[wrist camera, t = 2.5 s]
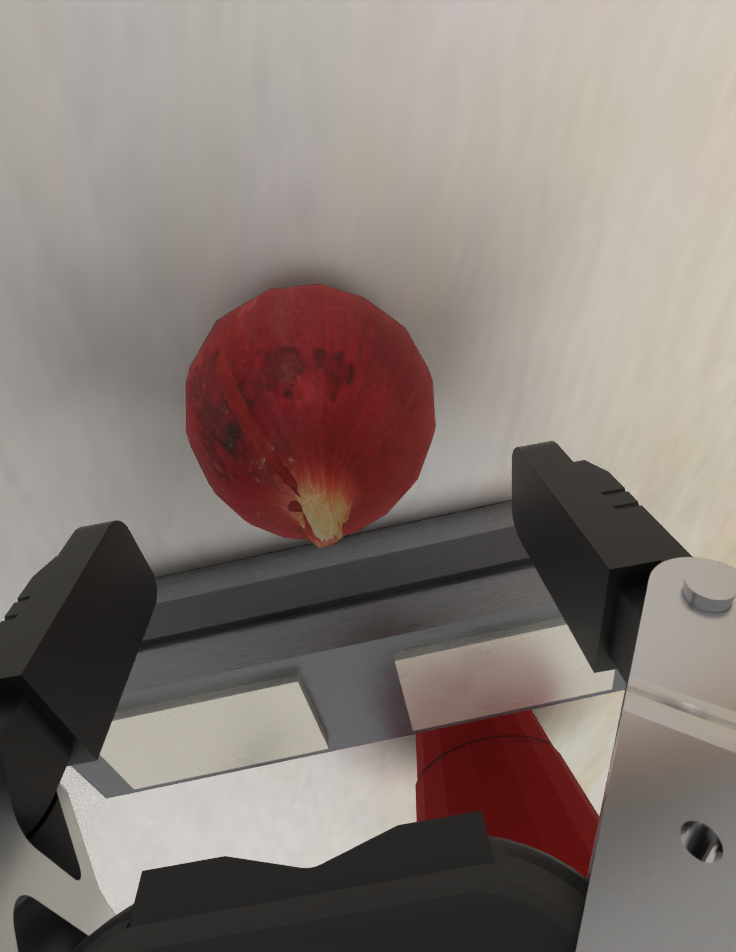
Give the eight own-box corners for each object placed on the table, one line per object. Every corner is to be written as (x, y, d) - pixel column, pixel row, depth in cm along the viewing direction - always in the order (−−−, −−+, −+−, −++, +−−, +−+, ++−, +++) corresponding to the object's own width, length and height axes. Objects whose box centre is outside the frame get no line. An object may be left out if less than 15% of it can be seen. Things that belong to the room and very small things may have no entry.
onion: (180, 386, 15) (74, 568, 8) (277, 212, 13) (241, 262, 6) (338, 472, 17) (357, 671, 10) (443, 338, 15) (555, 478, 8)
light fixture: (79, 589, 19) (7, 721, 14) (588, 478, 18) (678, 578, 14) (145, 677, 22) (103, 807, 17) (580, 583, 21) (652, 692, 17)
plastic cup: (611, 659, 25) (817, 995, 15) (505, 768, 30) (605, 1073, 20) (423, 622, 22) (521, 1013, 12) (341, 751, 27) (360, 1100, 17)
